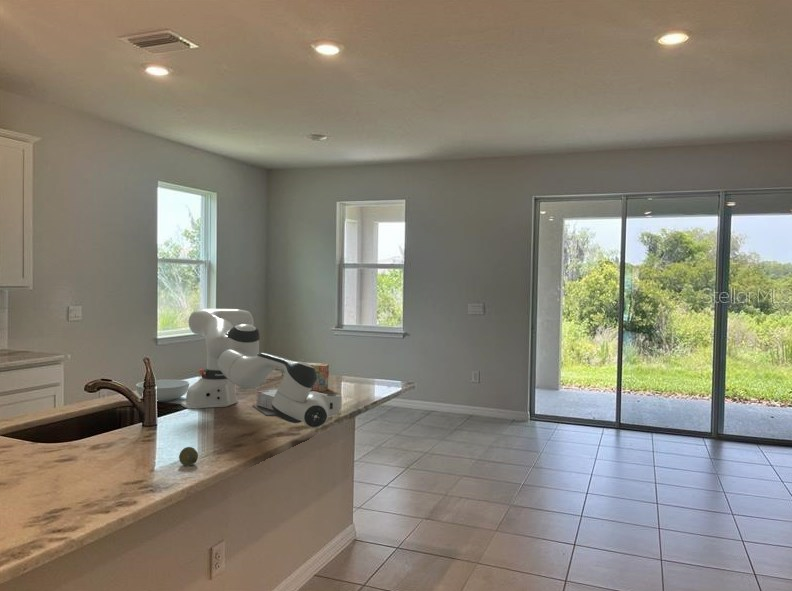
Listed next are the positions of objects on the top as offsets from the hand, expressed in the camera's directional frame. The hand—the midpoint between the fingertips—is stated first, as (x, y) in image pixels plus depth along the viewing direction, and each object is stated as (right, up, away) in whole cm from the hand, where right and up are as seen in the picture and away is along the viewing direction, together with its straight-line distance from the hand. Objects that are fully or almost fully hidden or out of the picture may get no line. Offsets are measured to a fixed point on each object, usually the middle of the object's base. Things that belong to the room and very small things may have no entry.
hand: (311, 396), depth 210 cm
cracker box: (-7, -7, +18) cm, 21 cm away
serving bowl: (-68, -8, +37) cm, 78 cm away
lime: (-29, -12, -44) cm, 54 cm away
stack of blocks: (-13, -8, +68) cm, 70 cm away
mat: (-15, -9, +27) cm, 32 cm away
